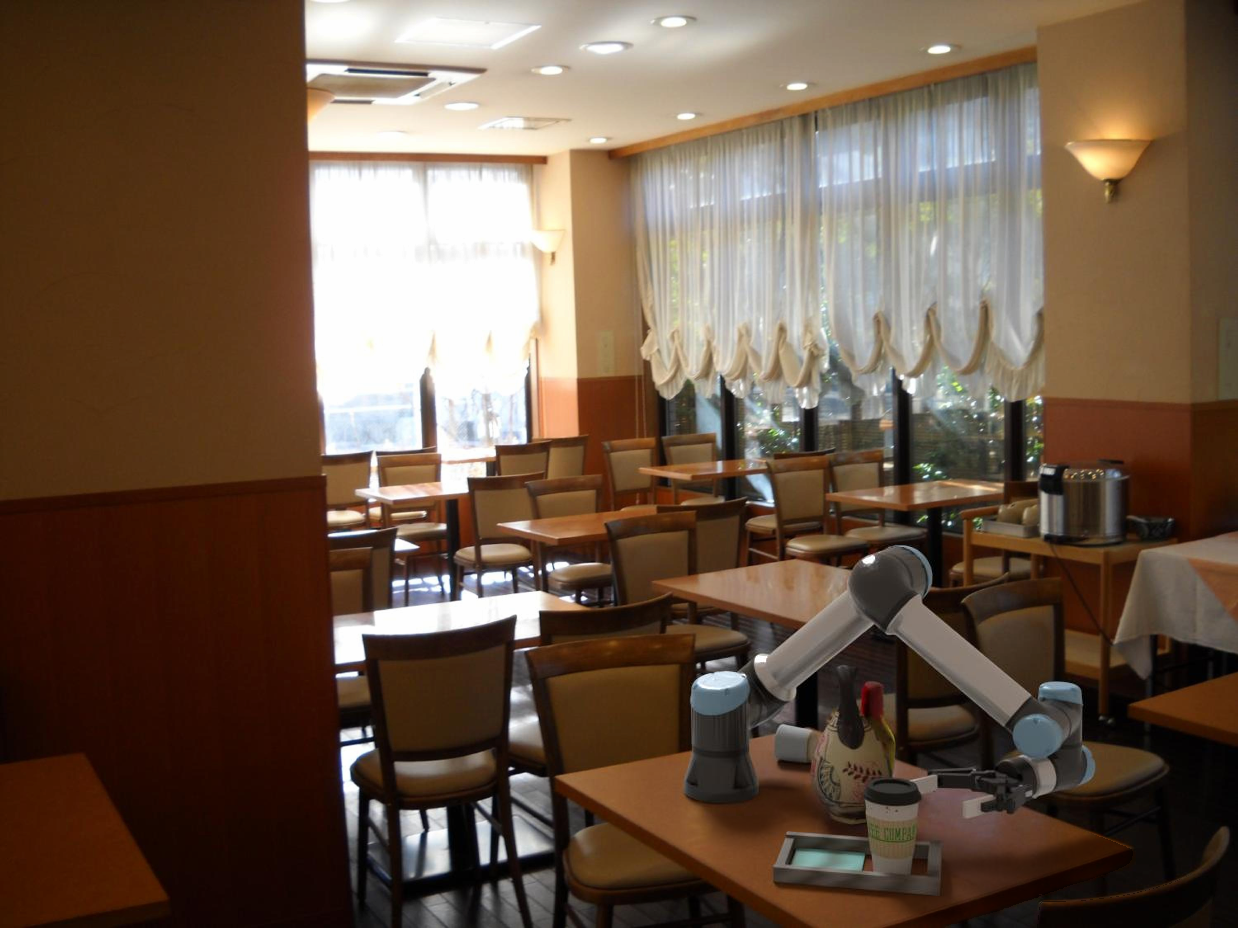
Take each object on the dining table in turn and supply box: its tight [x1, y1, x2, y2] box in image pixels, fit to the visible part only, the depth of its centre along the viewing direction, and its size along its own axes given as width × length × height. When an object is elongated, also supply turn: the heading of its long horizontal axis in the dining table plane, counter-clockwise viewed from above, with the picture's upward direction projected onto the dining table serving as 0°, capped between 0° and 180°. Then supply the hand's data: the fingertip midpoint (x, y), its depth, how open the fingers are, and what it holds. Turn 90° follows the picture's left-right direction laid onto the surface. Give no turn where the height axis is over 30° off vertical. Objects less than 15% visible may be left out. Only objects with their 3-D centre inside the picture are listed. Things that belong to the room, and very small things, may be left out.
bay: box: [772, 831, 943, 897], centre depth 220 cm, size 27×17×4 cm, turn 75°
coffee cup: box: [862, 777, 923, 875], centre depth 219 cm, size 10×10×15 cm
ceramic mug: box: [773, 724, 819, 764], centre depth 283 cm, size 11×8×8 cm
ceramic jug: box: [809, 664, 893, 834], centre depth 244 cm, size 17×15×30 cm
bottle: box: [859, 680, 896, 776], centre depth 270 cm, size 12×6×20 cm, turn 36°
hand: (935, 799), depth 223 cm, fingers open, 13 cm apart
